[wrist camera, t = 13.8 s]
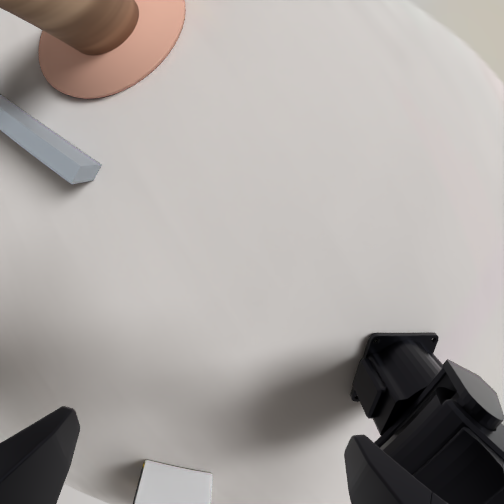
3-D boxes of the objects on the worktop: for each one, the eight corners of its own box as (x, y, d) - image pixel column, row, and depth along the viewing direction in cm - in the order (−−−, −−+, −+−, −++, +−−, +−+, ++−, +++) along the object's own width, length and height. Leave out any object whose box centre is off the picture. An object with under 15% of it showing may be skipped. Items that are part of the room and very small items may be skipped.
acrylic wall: (101, 164, 18) (80, 166, 16) (93, 180, 19) (71, 184, 16) (-11, 86, 16) (-34, 82, 13) (-17, 99, 16) (-41, 96, 13)
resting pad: (219, 19, 16) (219, 16, 16) (90, 131, 18) (86, 131, 17) (130, -53, 14) (128, -56, 13) (23, 44, 15) (19, 42, 15)
